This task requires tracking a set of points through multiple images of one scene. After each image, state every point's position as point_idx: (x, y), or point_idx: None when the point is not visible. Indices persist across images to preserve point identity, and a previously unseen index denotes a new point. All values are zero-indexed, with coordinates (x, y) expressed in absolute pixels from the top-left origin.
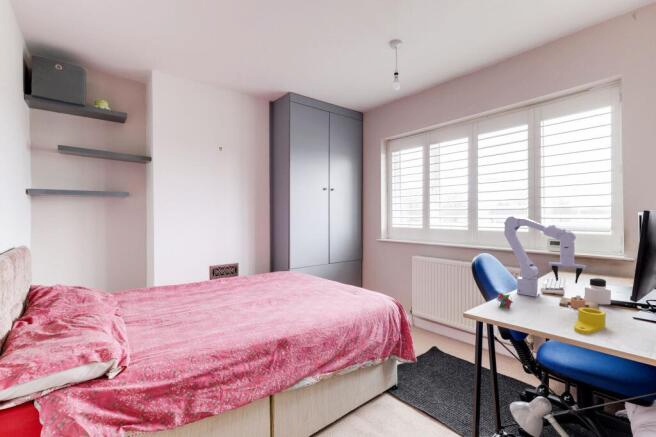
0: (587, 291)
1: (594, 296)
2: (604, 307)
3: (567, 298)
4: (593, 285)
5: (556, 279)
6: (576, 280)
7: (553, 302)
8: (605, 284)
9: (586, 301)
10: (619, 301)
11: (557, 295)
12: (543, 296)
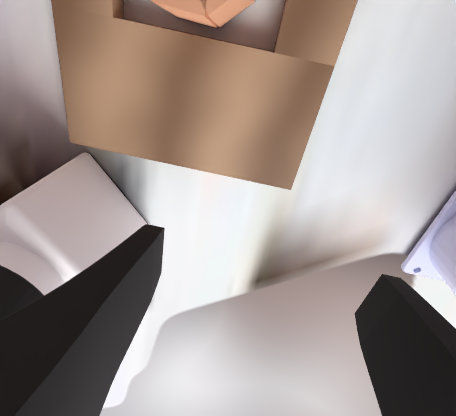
0: (105, 253)
1: (67, 187)
2: (37, 94)
3: (253, 172)
4: (13, 273)
5: (413, 290)
6: (130, 246)
7: (389, 48)
8: None
9: (134, 144)
10: None
11: (285, 269)
12: (395, 214)
